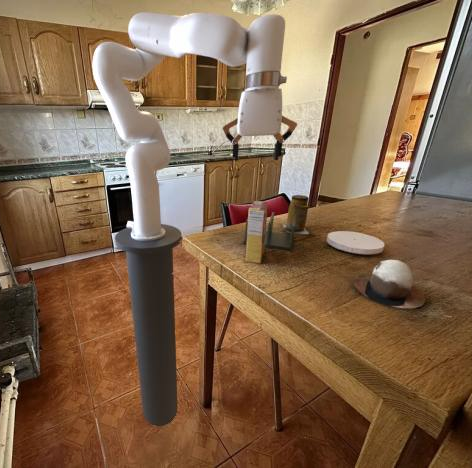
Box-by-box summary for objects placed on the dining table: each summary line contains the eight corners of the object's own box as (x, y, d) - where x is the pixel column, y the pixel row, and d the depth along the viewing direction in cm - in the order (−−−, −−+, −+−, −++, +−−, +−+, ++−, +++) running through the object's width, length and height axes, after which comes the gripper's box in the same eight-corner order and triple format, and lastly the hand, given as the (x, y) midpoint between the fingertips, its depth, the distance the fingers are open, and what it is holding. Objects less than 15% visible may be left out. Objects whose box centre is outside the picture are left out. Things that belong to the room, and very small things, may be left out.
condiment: (303, 226, 95) (308, 194, 91) (309, 234, 88) (315, 200, 83) (282, 225, 97) (286, 194, 93) (286, 233, 89) (291, 199, 85)
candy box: (249, 248, 79) (253, 200, 73) (264, 251, 77) (269, 201, 71) (244, 261, 71) (248, 208, 66) (260, 264, 70) (266, 210, 64)
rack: (244, 244, 82) (246, 220, 79) (250, 231, 92) (252, 210, 89) (291, 250, 76) (295, 225, 74) (292, 236, 86) (296, 214, 84)
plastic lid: (385, 261, 68) (387, 253, 67) (324, 251, 76) (326, 243, 75) (379, 243, 79) (381, 235, 78) (327, 235, 86) (328, 228, 85)
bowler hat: (353, 266, 64) (398, 245, 57) (385, 301, 62) (435, 284, 55) (344, 285, 56) (396, 264, 49) (380, 327, 54) (439, 310, 47)
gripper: (299, 83, 61) (289, 158, 67) (224, 89, 65) (222, 159, 71) (306, 77, 54) (295, 161, 60) (223, 84, 58) (220, 162, 65)
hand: (255, 160), depth 66 cm, fingers open, 9 cm apart
